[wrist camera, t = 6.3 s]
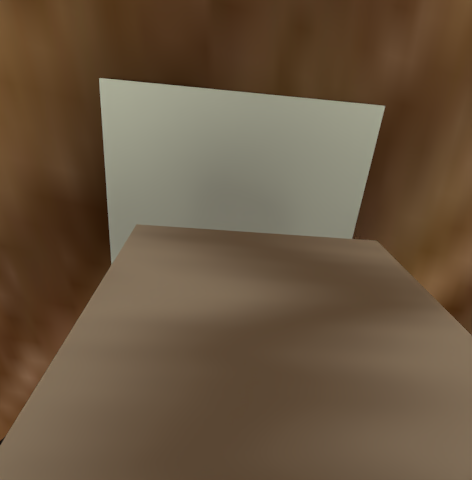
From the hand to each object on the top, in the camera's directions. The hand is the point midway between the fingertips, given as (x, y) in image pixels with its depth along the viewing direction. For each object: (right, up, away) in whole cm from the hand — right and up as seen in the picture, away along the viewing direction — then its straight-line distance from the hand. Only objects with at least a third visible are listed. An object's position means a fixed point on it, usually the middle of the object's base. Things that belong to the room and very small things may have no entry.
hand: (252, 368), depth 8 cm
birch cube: (0, +1, +1) cm, 2 cm away
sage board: (-1, +4, +9) cm, 10 cm away
